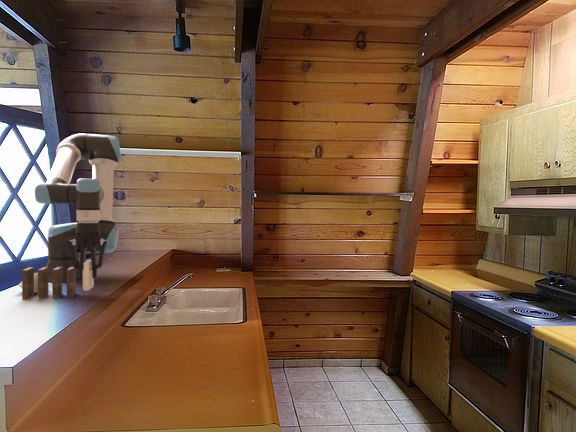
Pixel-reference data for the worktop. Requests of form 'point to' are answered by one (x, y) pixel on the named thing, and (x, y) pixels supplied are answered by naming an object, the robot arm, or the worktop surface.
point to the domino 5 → (87, 274)
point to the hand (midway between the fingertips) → (88, 287)
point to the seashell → (34, 283)
